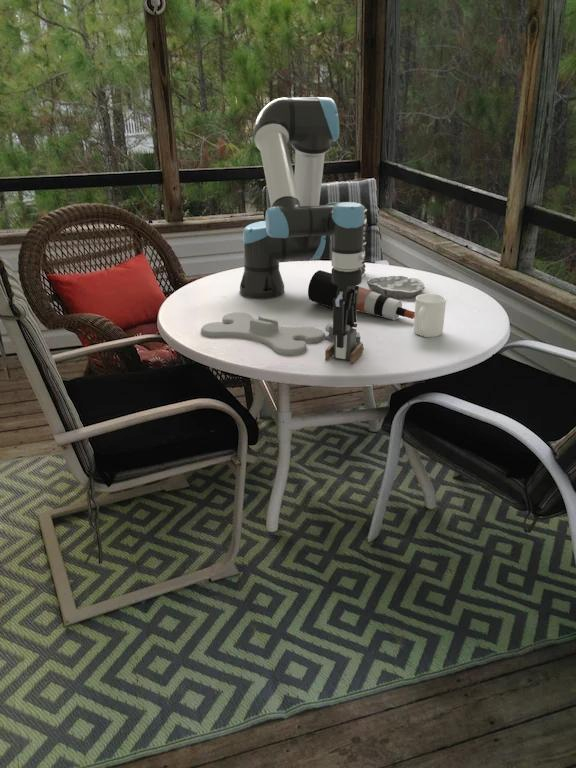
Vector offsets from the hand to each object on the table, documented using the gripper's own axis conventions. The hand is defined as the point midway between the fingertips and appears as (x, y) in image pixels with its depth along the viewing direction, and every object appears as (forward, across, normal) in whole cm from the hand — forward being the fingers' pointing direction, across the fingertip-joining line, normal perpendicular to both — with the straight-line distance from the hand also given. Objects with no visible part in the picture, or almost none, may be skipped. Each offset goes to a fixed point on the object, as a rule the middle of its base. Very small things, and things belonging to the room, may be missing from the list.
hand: (344, 354), depth 173 cm
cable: (+1, +35, +6) cm, 36 cm away
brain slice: (+1, +61, +2) cm, 61 cm away
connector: (0, 0, 0) cm, 0 cm away
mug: (+1, +24, -16) cm, 29 cm away
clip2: (+1, +7, 0) cm, 7 cm away
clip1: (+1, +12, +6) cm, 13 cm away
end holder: (+1, 0, 0) cm, 1 cm away
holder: (+1, +6, +27) cm, 28 cm away
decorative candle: (+1, +74, +22) cm, 77 cm away
